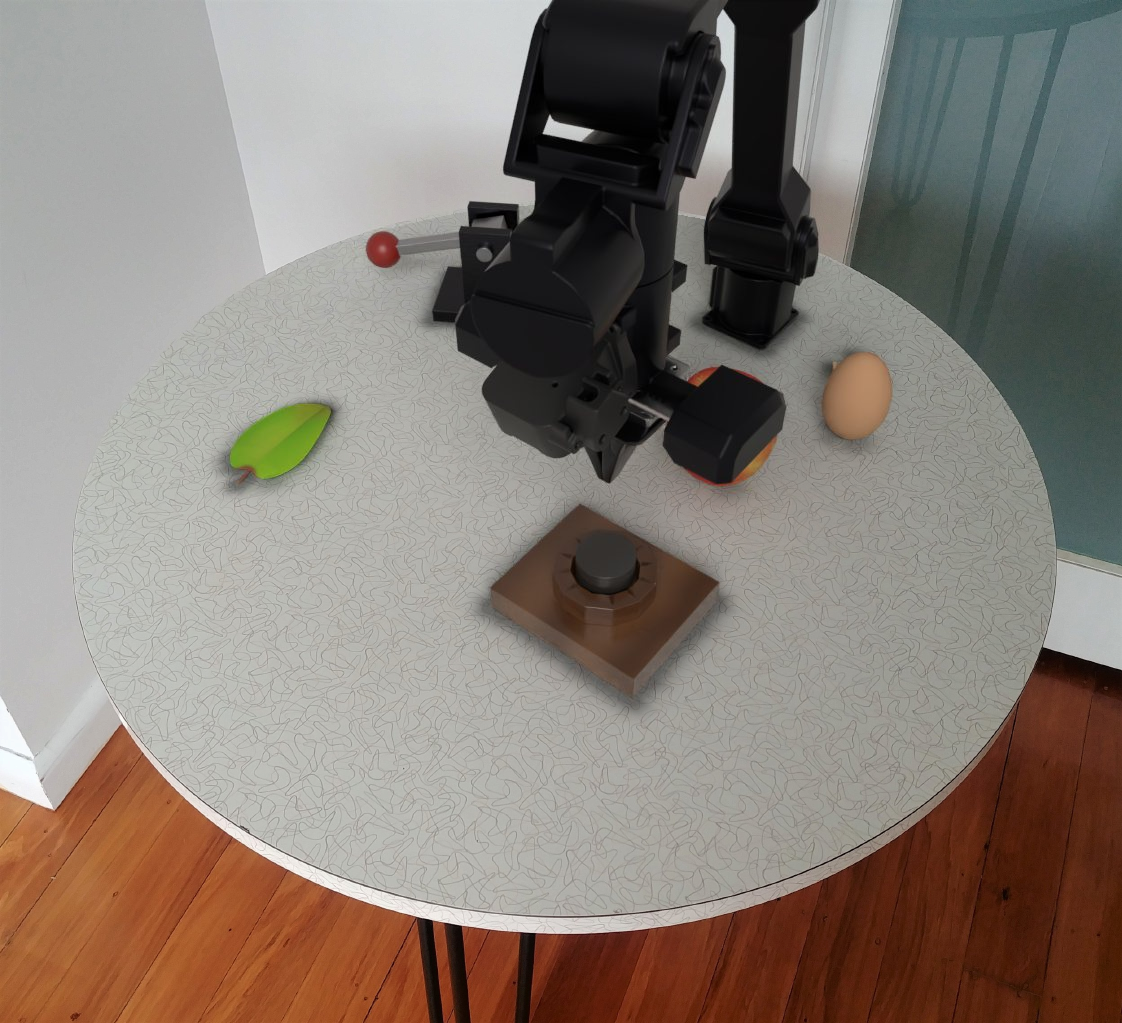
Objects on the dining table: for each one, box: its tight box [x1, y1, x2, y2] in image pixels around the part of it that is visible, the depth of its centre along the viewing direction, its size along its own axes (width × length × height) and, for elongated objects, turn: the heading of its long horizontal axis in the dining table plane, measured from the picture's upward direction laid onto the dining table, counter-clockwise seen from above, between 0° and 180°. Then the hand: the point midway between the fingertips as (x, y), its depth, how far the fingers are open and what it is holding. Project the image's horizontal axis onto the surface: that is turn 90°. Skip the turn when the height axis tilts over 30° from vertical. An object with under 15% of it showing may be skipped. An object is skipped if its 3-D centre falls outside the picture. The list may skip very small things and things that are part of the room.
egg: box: [821, 350, 893, 441], centre depth 82 cm, size 5×5×8 cm
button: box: [575, 532, 636, 595], centre depth 70 cm, size 4×4×2 cm
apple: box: [666, 366, 779, 487], centre depth 79 cm, size 8×8×10 cm
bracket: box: [431, 200, 520, 324], centre depth 94 cm, size 10×7×9 cm
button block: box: [489, 503, 720, 699], centre depth 72 cm, size 12×10×4 cm
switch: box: [365, 216, 508, 269], centre depth 94 cm, size 13×3×3 cm, turn 83°
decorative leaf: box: [229, 402, 332, 485], centre depth 84 cm, size 8×9×1 cm
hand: (608, 477), depth 64 cm, fingers closed
